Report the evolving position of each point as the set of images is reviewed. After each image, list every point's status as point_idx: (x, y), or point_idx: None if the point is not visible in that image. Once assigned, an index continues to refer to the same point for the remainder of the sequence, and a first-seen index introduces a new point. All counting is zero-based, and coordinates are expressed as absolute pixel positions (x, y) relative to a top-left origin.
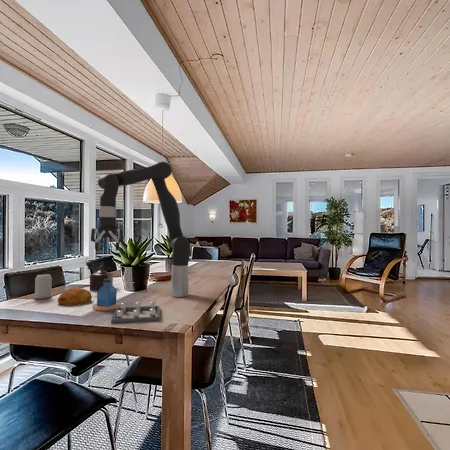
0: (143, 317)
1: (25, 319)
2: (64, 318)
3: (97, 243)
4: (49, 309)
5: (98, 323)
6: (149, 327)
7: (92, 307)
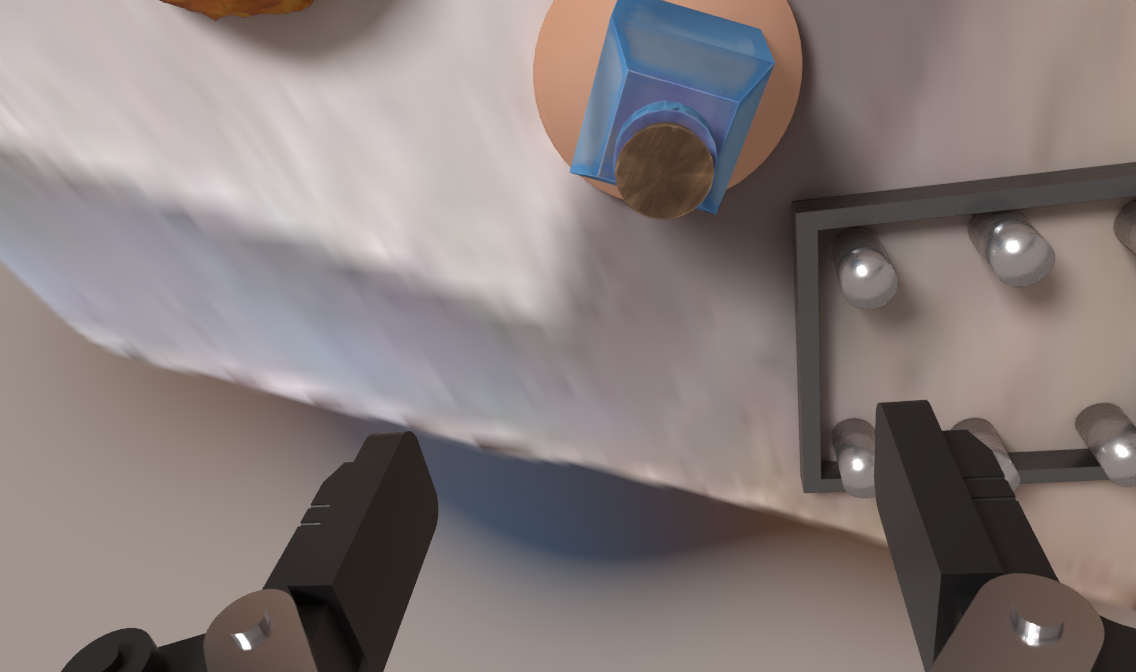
0: (1032, 474)
1: (227, 368)
2: (457, 366)
3: (366, 667)
4: (197, 138)
5: (719, 469)
6: (1051, 554)
7: (549, 130)
